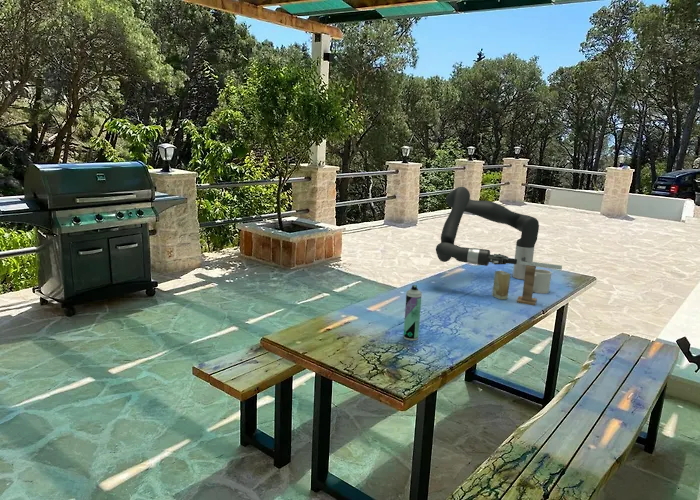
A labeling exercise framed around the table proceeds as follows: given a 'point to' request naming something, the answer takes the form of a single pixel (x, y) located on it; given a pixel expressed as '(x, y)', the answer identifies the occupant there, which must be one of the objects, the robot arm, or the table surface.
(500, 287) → the skincare box
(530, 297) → the post
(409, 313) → the spray can
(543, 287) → the mug
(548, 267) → the latch bar
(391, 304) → the table surface
